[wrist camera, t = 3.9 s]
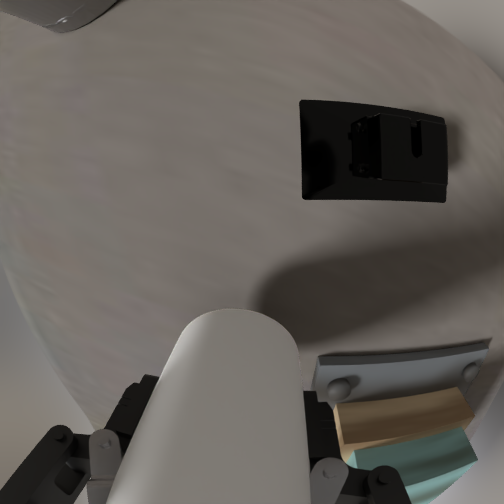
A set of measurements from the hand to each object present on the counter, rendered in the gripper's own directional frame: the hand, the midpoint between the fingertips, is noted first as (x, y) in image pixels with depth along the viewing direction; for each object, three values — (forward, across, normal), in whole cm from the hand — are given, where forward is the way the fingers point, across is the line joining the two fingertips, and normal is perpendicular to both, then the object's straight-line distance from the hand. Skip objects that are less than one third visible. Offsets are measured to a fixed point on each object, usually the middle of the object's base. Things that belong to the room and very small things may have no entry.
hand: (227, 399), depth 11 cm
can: (+3, 0, 0) cm, 3 cm away
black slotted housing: (+7, -8, -11) cm, 15 cm away
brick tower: (+6, -13, +12) cm, 19 cm away
